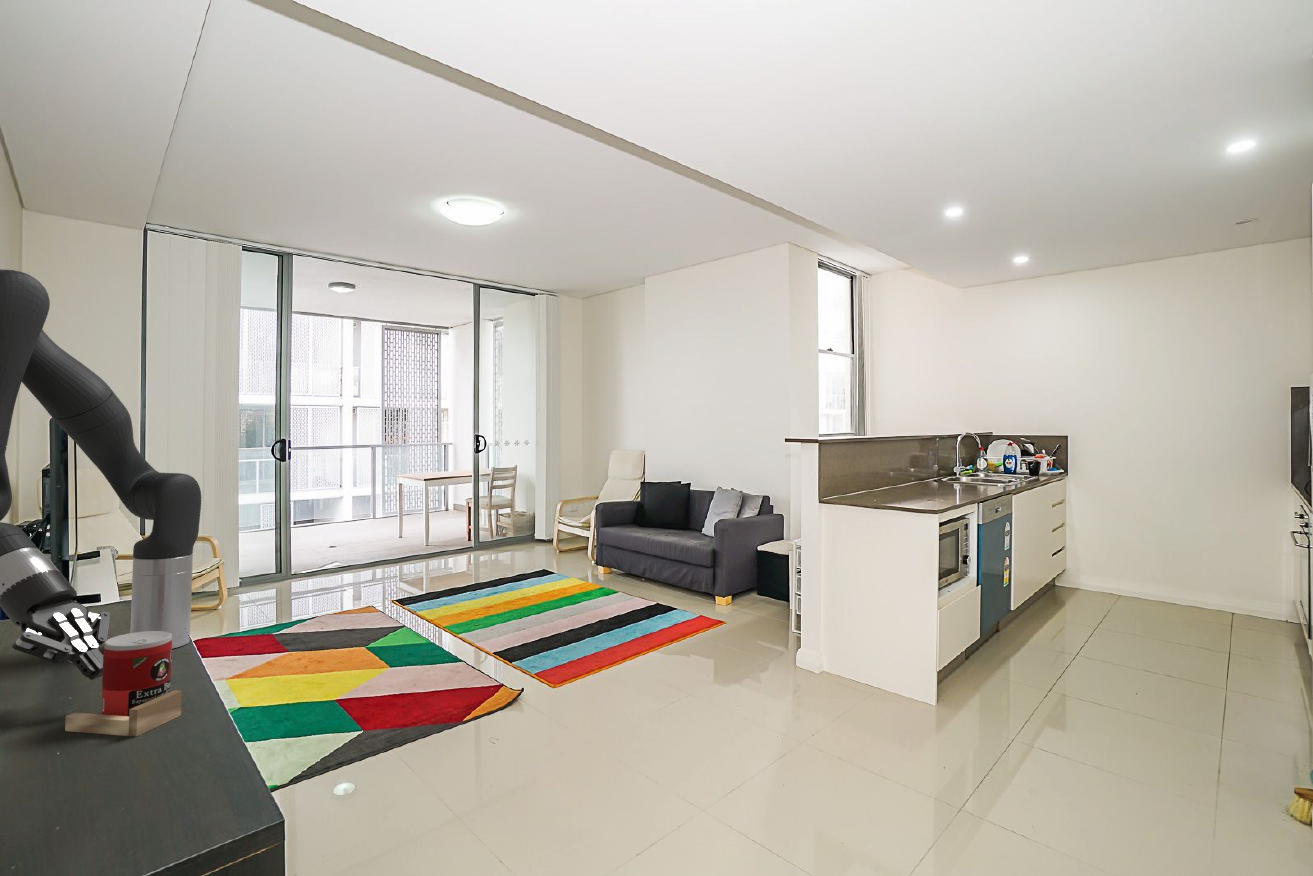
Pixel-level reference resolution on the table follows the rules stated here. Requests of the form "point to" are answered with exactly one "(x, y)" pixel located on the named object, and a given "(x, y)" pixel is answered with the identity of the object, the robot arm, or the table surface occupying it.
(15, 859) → the table surface
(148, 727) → the bar
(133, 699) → the canned food
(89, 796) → the table surface
